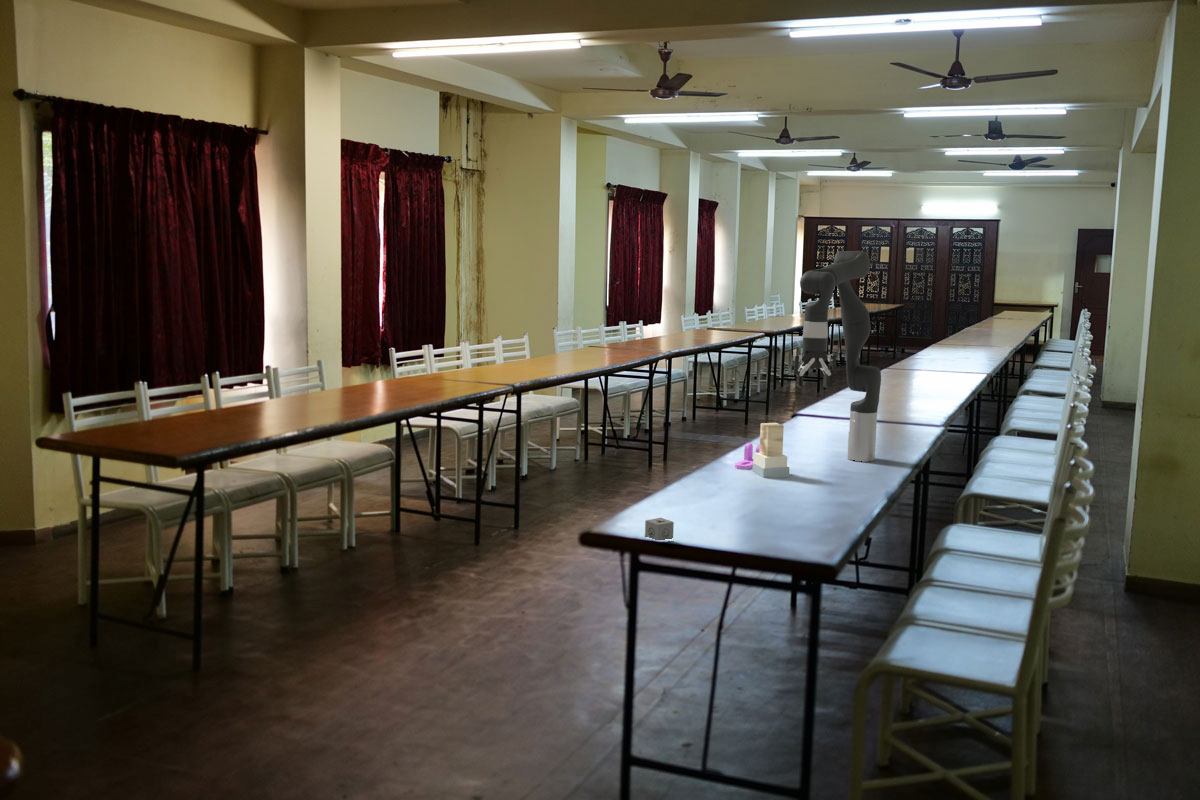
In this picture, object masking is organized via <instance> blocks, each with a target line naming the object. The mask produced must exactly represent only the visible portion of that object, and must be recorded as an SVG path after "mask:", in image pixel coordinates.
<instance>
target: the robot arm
mask: <svg viewBox="0 0 1200 800" xmlns="http://www.w3.org/2000/svg"><path fill="white" fill-rule="evenodd" d="M870 269H871V259H870V255H869V254H868V252H865V251H863V250H845V251H837V252H836V253H835V255H834V259H833V263H831V264H829V265H826V266H824V267H822V268H817V269H810V270H807V271H806V272H804V273H803V274H802V275H801V277H800V279H799V287H800V288H801V290H802V292H803V293H805V294H807V295H820V297H819V298H818V299H817V300H816V301H810V302H808V303H806V304H805V308H804V321H803V322H804V324H803V330H802V332H803V333H802V335H803V336H802V349H801V350H802V352H801V353H802V354H800V355H799V354H792V356H791V357H792V359H791V366H790V368H791V369H790V373H791V374H793V375H796V387H798V388H799V389H803V387H804V374H806V372H807V371H808V370H809V369H811V370H812V369H813V370H814V369H820V370H821V371H822V373H823V379H822V387H823V388H827V389H828V388H829V386H830V384H831V375H833V374H837V355H836V354H832V353H830V354H827V351H828V336H829V326H828V319H829V318H828V317H829V316H828V315H829V307H830V303H831V299H832V297H833V293H834V291H835V287H837V290H838V296H839V303H840V314H841V322H842V323H841V325H842V332H843V338H844V346H845V358H846V360H845V361H846V362H845V364H846V367H845V368H846V382H847V386H848V389H850V390H851V391H854V392H859V393H860V392H861V393H865V395H864V398H862V399H860V400H856V401H852V402H851V404H850V409H849V410H850V411H849V429H848V430H849V431H848V438H847V439H848V440H847V459H848V460H850V459H851V460H850V461H853V460H855V462H861V461H862V462H863V463H864V462H869V461H870V462H874V461H875V460H876V459H875V458H876V446H877V445H876V442H877V441H876V440H877V426H878V425H877V424H878V423H877V422H878V410H879V409H878V408H879V403H880V396H881V395H880V392H881V386H882V385H881V384H882V373H881V370H880V368H879V367H877V366H873V365H872V366H871V365H863V364H861V363H860V355H861V351H862V350H863V347H864V345H865V344H866V342H867V340H868V339H869V337H870V333H871V330H872V329H871V328H872V327H871V320H870V313H869V310H868V308H867V307H866V305H865V304H864V303H863V301H862V300H861V299H860V297H859V296H857V294H856V293H855V291H854V289H853V286H852V283H851V280H857V279H863V278H865V277H867V276H868V274H869V272H870ZM801 360H802V363H801V364H799V363H800V362H801ZM827 360H828V363H829V364H828V366H829V367H828V366H827V364H826V361H827ZM799 365H800V366H799Z"/></svg>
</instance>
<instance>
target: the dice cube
mask: <svg viewBox="0 0 1200 800" xmlns="http://www.w3.org/2000/svg"><path fill="white" fill-rule="evenodd" d="M644 523H645V524H644V525H645V526H644V537H645V536H646V537H649V538H652V539H655V540H665V539H672V538H673V539H674V528H675V527H674V525H675V524H674V523H675V522H674V521H673V520H669V519H666V518H663V517H656V518H652V519H646V520H645V522H644Z"/></svg>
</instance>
